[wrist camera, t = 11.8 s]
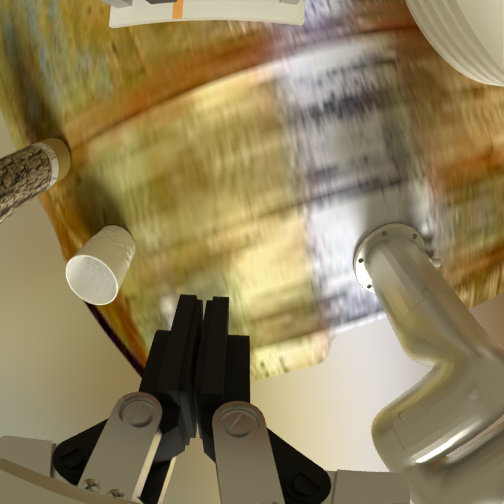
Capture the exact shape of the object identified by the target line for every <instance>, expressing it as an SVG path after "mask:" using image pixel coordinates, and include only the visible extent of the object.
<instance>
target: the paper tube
mask: <svg viewBox="0 0 504 504" xmlns="http://www.w3.org/2000/svg"><path fill="white" fill-rule="evenodd" d="M70 165H71V156H70V152H69V149H68V147H67V146H66V144H65V143H64V142H63V141H61V140H60V139H57V138H47V139H45V140H42V141H40V142H37V143H35V144H32V145H30V146H27V147H25V148H23V149H20V150H18V151H16V152H14V153H11V154H9V155H7V156H5V157H3V158H1V159H0V223H1V222H3V221H4V220H5V219H7V218H8V217H9V216H10V215H12V214H13V213H14V212H16V211H17V210H18V209H20V208H21V207H23V206H24V205H25V204H26V203H28V202H29V201H31V200H32V199H34V198H35V197H36V196H38V195H39V194H41V193H42V192H44V191H45V190H47V189H48V188H50V187H51V186H52V185H54V184H55V183H57V182H58V181H60V180H61V179H63V178H64V177H65V176H66V175H67V173H68V171H69V169H70Z"/></svg>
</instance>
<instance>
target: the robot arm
mask: <svg viewBox="0 0 504 504" xmlns="http://www.w3.org/2000/svg"><path fill="white" fill-rule="evenodd" d="M440 265H441V260H440V259H437V258H433V259H431V258H430V257H429V256H428V255H427V254H426V252H425V244H424V241H423V239H422V237H421V236H420V234H419V233H418V232H417V231H416V230H415V229H414V228H412V227H410V226H408V225H405V224H400V223H394V224H388V225H385V226H382V227H380V228H378V229H376V230H375V231H373V232H372V233H370V234H369V235H368V236H367V237H366V238H365V239H364V240H363V242H362V243H361V244H360V246H359V248H358V250H357V252H356V255H355V258H354V273H355V275H356V278H357V280H358V282H359V283H360V285H361V286H362V287H363V288H365V289H366V290H368V291H370V292H372V293H375V294H376V296H377V298H378V300H379V302H380V303H381V305H382V307H383V309H384V311H385V313H386V315H387V317H388V320H389V322H390V324H391V326H392V328H393V330H394V332H395V334H396V336H397V338H398V340H399V342H400V344H401V346H402V348H403V350H404V352H405V353H406V354H407V356H408V357H410V358H411V359H412V360H413V361H415V362H417V363H419V364H422V365H426V366H430V367H433V369H432V370H431V371H430V372H429V373H428V374H427V375H426V376H425V377H423V378H422V379H421V380H420V381H419V382H418V383H416V384H415V385H414V386H412V387H411V388H410V389H409V390H407V391H406V392H404V393H403V394H402V395H401V396H399V397H398V398H396V399H395V400H394V401H392V402H391V403H390V404H388V405H387V406H386V407H384V408H383V409H382V410H381V411H380V412H379V413H378V414H377V415H376V417H375V418H374V420H373V423H372V428H371V434H372V440H373V443H374V446H375V448H376V450H377V452H378V454H379V456H380V458H381V459H382V461H383V462H384V464H385V465H386V467H387V468H388V469H389V471H390V472H365V471H363V472H362V471H349V470H337V471H326V470H323V468H321V467H320V466H318V465H317V464H315V463H314V462H313V461H311V460H310V459H308V458H307V457H305V456H304V455H303V454H301V453H300V452H299V451H297V450H296V449H295V448H293V447H292V446H290V445H289V444H288V443H286V442H285V441H284V440H282V439H281V438H280V437H279V436H277V435H276V434H275V433H273V432H272V431H271V430H269V429H268V428H267V427H266V422H265V418H264V416H263V414H262V412H261V411H260V410H259V409H258V408H257V407H256V406H254V405H252V404H250V339H249V336H242V335H228V320H229V297H216V296H213V300H207V302H206V309H205V315H204V321H203V301H202V300H197V296H196V295H183V294H181V295H180V298H179V301H178V305H177V309H176V312H175V316H174V320H173V324H172V327H171V331H167V330H157V331H156V333H155V336H154V339H153V342H152V346H151V349H150V353H149V356H148V359H147V363H146V366H145V370H144V373H143V377H142V380H141V384H140V388H139V391H138V392H133V393H129V394H127V395H124V396H123V397H122V398H120V399H119V400H118V402H117V403H116V404H115V406H114V408H113V411H112V412H111V415H110V417H109V418H108V419H106V420H104V421H102V422H101V423H99V424H97V425H95V426H93V427H91V428H89V429H87V430H85V431H83V432H81V433H79V434H78V435H75V436H73V437H71V438H69V439H67V440H65V441H63V442H62V443H60V444H56V443H54V442H53V441H47V440H38V439H29V438H22V437H15V436H3V437H1V438H0V504H162V503H163V499H164V496H165V493H166V490H167V486H168V483H169V480H170V477H171V474H172V470H173V467H174V464H175V461H176V456H177V455H178V454H180V453H181V452H183V451H184V450H185V445H189V441H190V438H195V437H196V430H197V422H198V429H199V435H200V438H201V439H202V440H203V446H204V453H206V454H207V455H208V456H209V457H210V458H211V459H212V460H213V461H214V462H215V464H216V471H217V479H218V486H219V494H220V500H221V504H410V499H411V501H412V502H413V503H414V504H504V422H502V423H500V424H499V425H497V426H496V427H495V428H493V429H492V430H490V431H489V432H488V433H486V434H485V435H483V436H482V437H481V438H479V439H478V440H476V441H475V442H474V443H472V444H471V445H469V446H468V447H466V448H464V449H463V450H461V451H460V452H458V453H457V454H455V455H453V456H451V457H447V456H446V455H447V454H449V453H450V452H452V451H454V450H455V449H457V448H458V447H460V446H462V445H464V444H465V443H467V442H468V441H470V440H471V439H473V438H474V437H475V436H477V435H478V434H480V433H481V432H482V431H483V430H485V429H486V428H488V427H489V426H490V425H492V424H493V423H494V422H495V421H496V420H498V419H499V418H500V417H501V416H502V415H503V414H504V349H503V348H502V347H501V346H500V345H499V344H498V343H497V342H496V341H495V340H494V339H493V338H492V337H491V336H490V335H489V334H488V333H487V332H486V331H485V330H484V328H483V327H482V326H481V325H480V324H479V323H478V322H477V320H476V319H475V318H474V316H473V315H472V314H471V313H470V311H469V310H468V309H467V307H466V306H465V305H464V303H463V302H462V301H461V299H460V298H459V297H458V296H457V294H456V293H455V292H454V290H453V289H452V288H451V287H450V285H449V284H448V283H447V281H446V280H445V279H444V278H443V276H442V272H441V271H440V270H437V269H436V268H435V267H440Z"/></svg>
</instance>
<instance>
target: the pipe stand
mask: <svg viewBox="0 0 504 504" xmlns="http://www.w3.org/2000/svg"><path fill="white" fill-rule="evenodd" d="M101 1H103V2H105V3H107V4H109V5H111V11H110V21H109V27H111V28H118V27H125V26H132V25H140V24H148V23H158V22H171V21H188V20H243V21H261V22H273V23H283V24H292V25H300V26H302V25H303V24H304V14H305V0H184V3H183V13H182V18H180V19H172V15H173V4H174V2H171V3H160V4H150V3H148V2H147V1H146V0H101Z"/></svg>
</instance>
